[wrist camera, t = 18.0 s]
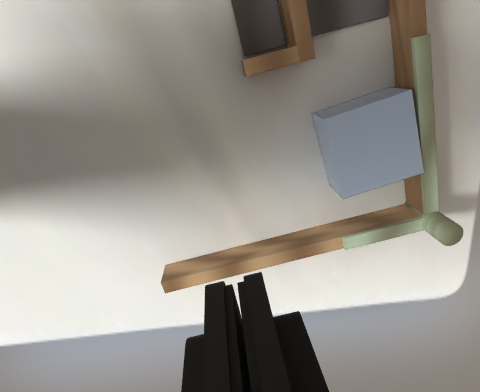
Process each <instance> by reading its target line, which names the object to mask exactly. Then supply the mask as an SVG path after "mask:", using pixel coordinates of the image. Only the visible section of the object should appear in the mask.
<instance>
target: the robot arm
mask: <svg viewBox="0 0 480 392" xmlns="http://www.w3.org/2000/svg"><path fill="white" fill-rule="evenodd" d="M237 284H238V292H239V300H240V307H241V314H240V310H239V307H238V303H237V300H236V296H235V293H234V289H233V286H232V284H231V285H227V286H226V285H225V283H224V281H222V282H218V283H214V284H210V285H206V286H205V315H204V334H202V335H198V336H194V337H190V338H187V340H186V346H185V357H184V368H183V380H182V391H181V392H329V390H328V387H327V385H326V382H325V379H324V376H323V374H322V371H321V369H320V366H319V363H318V360H317V358H316V355H315V352H314V350H313V347H312V344H311V342H310V339H309V336H308V333H307V330H306V328H305V325H304V322H303V320H302V317H301V314H300V312H299V311H297V312H293V313H289V314H285V315H281V316H277V317H273V316H272V312H271V308H270V304H269V300H268V296H267V292H266V288H265V284H264V280H263V277H262V273H261V272H259V273H255V274H251V275H247V276H244V281H243V282H239V283H237ZM241 315H242V318H241Z"/></svg>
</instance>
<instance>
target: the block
mask: <svg viewBox="0 0 480 392" xmlns="http://www.w3.org/2000/svg"><path fill="white" fill-rule="evenodd" d="M312 117H313V121H314V125H315V129H316V133H317V137H318V141H319V145H320V149H321V153H322V157H323V161H324V165H325V169H326V173H327V177H328V181H329V185H330V186H331V187H332V188H333V189H334V190H335V191H336V192H337V193H338V194H339V195H340V196H341V197H342V198H343V199H345V198H348V197H351V196H354V195H357V194H360V193H363V192H366V191H369V190H373V189H376V188H379V187H382V186H385V185H388V184H391V183H394V182H397V181H400V180H403V179H406V178H409V177H412V176H415V175H418V174H421V173H424V170H423V163H422V156H421V149H420V142H419V135H418V128H417V122H416V115H415V108H414V101H413V94H412V90H411V89H402V88H393V87H388V88H385V89H382V90H379V91H376V92H373V93H370V94H367V95H364V96H361V97H359V98H356V99H353V100H350V101H347V102H344V103H341V104H338V105H335V106H332V107H329V108H327V109H324V110H321V111H318V112H315V113H312Z"/></svg>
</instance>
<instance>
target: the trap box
mask: <svg viewBox="0 0 480 392" xmlns="http://www.w3.org/2000/svg"><path fill="white" fill-rule="evenodd" d="M231 1H232V5H233V9H234V14H235V18H236V22H237V27H238V31H239V35H240V40H241V44H242V49H243V53H244V56H245V55H249V54H253V53H256V52H260V51H264V50H267V49H271V48H275V47H279V46H282V45H285V41H284V36H283V31H282V25H281V20H280V15H279V9H278V4H277V0H231ZM280 3H281V9H282V14H283V19H284V25H285V30H286V36H287V41H288V46H289V48H286V49H282V50H278V51H275V52H271V53H267V54H264V55H260V56H256V57H253V58H249V59H245V60H242V65H243V69H244V73H245V76H251V75H255V74H259V73H262V72H266V71H270V70H273V69H277V68H281V67H285V66H288V65H292V64H296V63H299V62H303V61H307V60H311V59H314V58H315V54H314V48H313V41H312V36H314V35H318V34H322V33H325V32H329V31H333V30H336V29H340V28H344V27H347V26H351V25H355V24H359V23H362V22H366V21H370V20H373V19H377V18H381V17H384V16H388V10H387V0H280ZM389 11H390V22H391V33H392V45H393V56H394V68H395V79H396V88H402V89H411V90H412V94H413V101H414V108H415V115H416V122H417V128H418V135H419V142H420V149H421V156H422V163H423V170H424V173H421V174H418V175H415V176H412V177H409V178H406V179H404V181H405V193H406V203H405V204H403V205H399V206H396V207H392V208H388V209H384V210H380V211H376V212H372V213H368V214H364V215H360V216H356V217H353V218H349V219H345V220H341V221H337V222H333V223H329V224H325V225H321V226H317V227H313V228H309V229H306V230H302V231H298V232H294V233H290V234H286V235H282V236H278V237H274V238H270V239H266V240H263V241H259V242H255V243H251V244H247V245H243V246H239V247H235V248H231V249H227V250H223V251H220V252H216V253H212V254H208V255H204V256H200V257H196V258H192V259H188V260H184V261H180V262H176V263H173V264H169V265H165V269H164V273H163V277H162V280H161V284H162V287H163V289H164V292H165V293H168V292H172V291H176V290H180V289H184V288H188V287H192V286H196V285H200V284H204V283H208V282H211V281H215V280H219V279H223V278H227V277H231V276H235V275H239V274H243V273H247V272H251V271H255V270H259V269H263V268H267V267H271V266H275V265H279V264H282V263H286V262H290V261H294V260H298V259H302V258H306V257H310V256H314V255H318V254H322V253H326V252H330V251H334V250H338V249H342V248H344V249H345V250H348V249H352V248H356V247H359V246H363V245H367V244H371V243H375V242H379V241H383V240H387V239H391V238H395V237H399V236H403V235H407V234H411V233H415V232H419V231H423V230H425V231H427V232H428V233H429V234H430V235H432V236H433V237H434V238H436V239H437V240H438V241H439V242H441V243H442V244H443V245H446V246H451V245H454V244H456V243H458V242H459V241H460V240H461V238H462V236H463V228H462V227H461V226H460V225H458V224H457V223H455V222H454V221H452V220H451V219H449V218H448V217H446V216H444V215H443V214H441V213H440V212H439V199H438V180H437V160H436V141H435V122H434V103H433V83H432V64H431V45H430V34H427V28H426V10H425V0H389Z"/></svg>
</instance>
